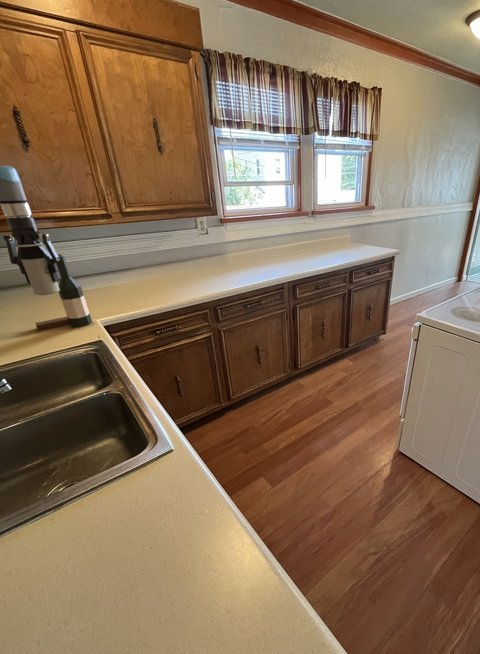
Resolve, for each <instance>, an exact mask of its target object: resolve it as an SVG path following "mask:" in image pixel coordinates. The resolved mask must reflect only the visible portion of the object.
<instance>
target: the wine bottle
mask: <svg viewBox="0 0 480 654" xmlns="http://www.w3.org/2000/svg"><path fill="white" fill-rule="evenodd" d="M57 254H58V256H59V258H60V261H58V262H56V266H57V269H58V274H59V277H60V280H59V281H58V286H59V289H60V291H58V292H57V293H58V294H59V295H58V296H59V297H60V300H61V303H62V306H63V309H64V311H65V314H66V317H68V320H69V323H70V324H69V325H70V327H71V328H83V327H87V326H90V325H91V324H92V323H93V320H92V317H91V313H90V311H89V308H88V304H87V301H86V299H85V295H84V292H83V288H82V286H81V284H79V283H78V282H77V281H76V280H75V279H74V278H73V277H72V276H71V273H70V270H69V267H68V264H67V261H66V259H65V256H64V255H63V254H62V253H57Z"/></svg>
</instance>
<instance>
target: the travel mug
mask: <svg viewBox="0 0 480 654" xmlns="http://www.w3.org/2000/svg"><path fill="white" fill-rule="evenodd" d="M43 244H44V242H41V243H37V244H22V245H17V244H16V248H17V249H18V248H19V249H20V254H19V255H20V258H21V260H22V263H23V265H24V268H25V270H26V273H27V275H28V278H29V281H30V283H29V284H30V286H31V288H32V291H33V293H34V294H35V295H36V296H48V295H55V294H57V293H59V292H58V291H60V289H59V286H58V285H59V282H58V281H57V282H53V280H52V277H51V274H50V271H49V269H48V266H47V265H48V264H49V263H48V261H47V260H46V259H45V258H44V255H43V253H42V252H41V251H40V250H39V247H38V246H42V245H43Z"/></svg>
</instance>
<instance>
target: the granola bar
mask: <svg viewBox="0 0 480 654" xmlns="http://www.w3.org/2000/svg"><path fill="white" fill-rule="evenodd" d="M68 325H70V323H69V320H68V317H67V316H63V317H62V316H61V317H57V318H52V319H48V320H43V321H38V322H35V327H36V330H37V332H39V331H44V330H49V329H53V328H54V329H55V328H58V327H63V326H68Z"/></svg>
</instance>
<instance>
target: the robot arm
mask: <svg viewBox="0 0 480 654" xmlns="http://www.w3.org/2000/svg"><path fill="white" fill-rule="evenodd" d="M0 206H1V210H2V212H3V214H4V216H5V217H7V218H6V219H5V220H6V222H7V225H8V228H9V229H10V230H11V234H5V235H3V236H2V237H3V240H4V241H5V243H6V247H7V252H8V257H9V261H10V264H12V265H17V266H18V267H19V270H20V273H21V274H22V275H24V277H25V279H26V282H27V283H28V284H31V283H30V281H29V278H28V275H27V273H26V270H25V268H24V265H23V263H22V260H21V258H20V255H19V254H20V249H19V248H18V247H17V245H22V244H37V243H43V244H44V245H43V244H42V246H38V247H39V250H40V251H41V252H42V253H43V255H44V258H45V259H46V260H47V261H48V263H49V264H48V265H47V266H48V269H49V271H50V274H51V277H52V280H53V282H57V283H58V282H60V280H59V276H58V273H59V271H58V268H57V265H56V262H58V261H60V258H59V256H58V254H59V253H58V252H57V251H56V249H55V247H54V244H53V243H52V241H51V236H50V234H49V233H47V232H46V233H42V232H39V230H38V227H37V223H36V221H35V218H34V217H32V216H33V212H32V210H31V207H30V205H29V201H28V200H27V196H26V193H25V190H24V188H23V184H22V180H21V179H20V176H19V174H18V172H17V170H16V168H15V167H14V166H11V165H0ZM15 240H16V241H17V244H16V243H15ZM41 240H42V242H41Z"/></svg>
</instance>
